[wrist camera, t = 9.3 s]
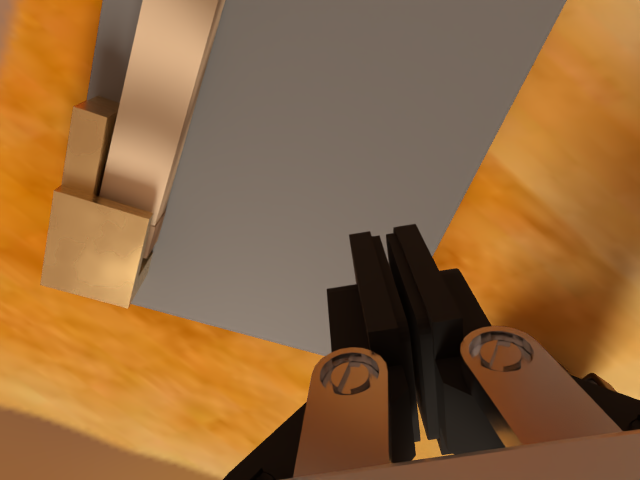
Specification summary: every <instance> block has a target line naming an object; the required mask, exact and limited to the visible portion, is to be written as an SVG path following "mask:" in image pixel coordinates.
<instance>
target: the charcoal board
mask: <svg viewBox="0 0 640 480" xmlns="http://www.w3.org/2000/svg"><path fill="white" fill-rule="evenodd" d="M142 1H143V0H103V3H102V9H101V15H100V21H99V28H98V34H97V40H96V46H95V52H94V58H93V65H92V71H91V77H90V83H89V89H88V96H87V100H89V99H91V98H94V97H96V96H101V97H104V98H107V99H109V100H112V101H115V102H118V103H120V100H121V96H122V91H123V87H124V82H125V78H126V73H127V69H128V64H129V60H130V55H131V51H132V46H133V42H134V37H135V33H136V28H137V24H138V19H139V15H140V10H141V6H142ZM566 1H567V0H225V3H224V7H223V10H222V14H221V17H220V21H219V24H218V28H217V31H216V35H215V38H214V42H213V45H212V49H211V52H210V56H209V59H208V63H207V66H206V70H205V73H204V77H203V80H202V84H201V87H200V90H199V94H198V97H197V101H196V104H195V108H194V111H193V115H192V118H191V122H190V125H189V129H188V132H187V136H186V139H185V143H184V146H183V150H182V153H181V157H180V160H179V164H178V167H177V171H176V174H175V178H174V181H173V185H172V188H171V192H170V195H169V199H168V202H167V206H166V209H165V210H166V213H165V216H164V220H163V223H162V227H161V230H160V234H159V237H158V240H157V242H156V244H155V245H154V247H153V249H152V250H151V252H153V255H152V259H151V263H150V267H149V271H148V274H147V276H146V278H145V279H144V281H143V283H142V285H141V286H140V288H139V290H138V292H137V293H136V295H135V297H134V299H133V300H132V302H131V304H134V305H138V306H141V307H145V308H149V309H153V310H156V311H160V312H164V313H167V314H171V315H175V316H179V317H182V318H186V319H190V320H193V321H197V322H201V323H204V324H208V325H212V326H216V327H219V328H223V329H227V330H230V331H234V332H238V333H242V334H245V335H249V336H253V337H256V338H260V339H264V340H268V341H271V342H275V343H279V344H282V345H286V346H290V347H294V348H297V349H301V350H305V351H308V352H312V353H316V354H319V355H323V356H326V355H328V354H329V353H331V352H332V351H331V339H330V326H329V314H328V302H327V289H328V288H335V287H341V286H347V285H354V284H356V279H355V272H354V266H353V259H352V253H351V246H350V240H349V234H355V233H361V232H367V231H370V232H371V236H378V235H380V238H381V241H382V244H383V248H384V251H385V254H386V257H387V260H388V252H387V243H386V234H391V233H393V227H398V226H405V225H411V224H416V225H417V227H418V229H419V231H420V233H421V235H422V238H423V240H424V242H425V244H426V246H427V248H428V250H429V252H430V254H431V256H433V254H434V252H435V250H436V249H437V247H438V245H439V243H440V241H441V239H442V237H443V235H444V233H445V231H446V229H447V228H448V226H449V224H450V222H451V220H452V218H453V216H454V214H455V212H456V210H457V208H458V207H459V205H460V203H461V201H462V199H463V197H464V195H465V193H466V191H467V189H468V188H469V186H470V184H471V182H472V180H473V178H474V176H475V174H476V172H477V170H478V168H479V167H480V165H481V163H482V161H483V159H484V157H485V155H486V153H487V151H488V149H489V147H490V146H491V144H492V142H493V140H494V138H495V136H496V134H497V132H498V130H499V128H500V126H501V125H502V123H503V121H504V119H505V117H506V115H507V113H508V111H509V109H510V107H511V106H512V104H513V102H514V100H515V98H516V96H517V94H518V92H519V90H520V88H521V86H522V85H523V83H524V81H525V79H526V77H527V75H528V73H529V71H530V69H531V67H532V65H533V64H534V62H535V60H536V58H537V56H538V54H539V52H540V50H541V48H542V46H543V45H544V43H545V41H546V39H547V37H548V35H549V33H550V31H551V29H552V27H553V25H554V24H555V22H556V20H557V18H558V16H559V14H560V12H561V10H562V8H563V6H564V4H565V3H566ZM388 263H389V260H388Z"/></svg>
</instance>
